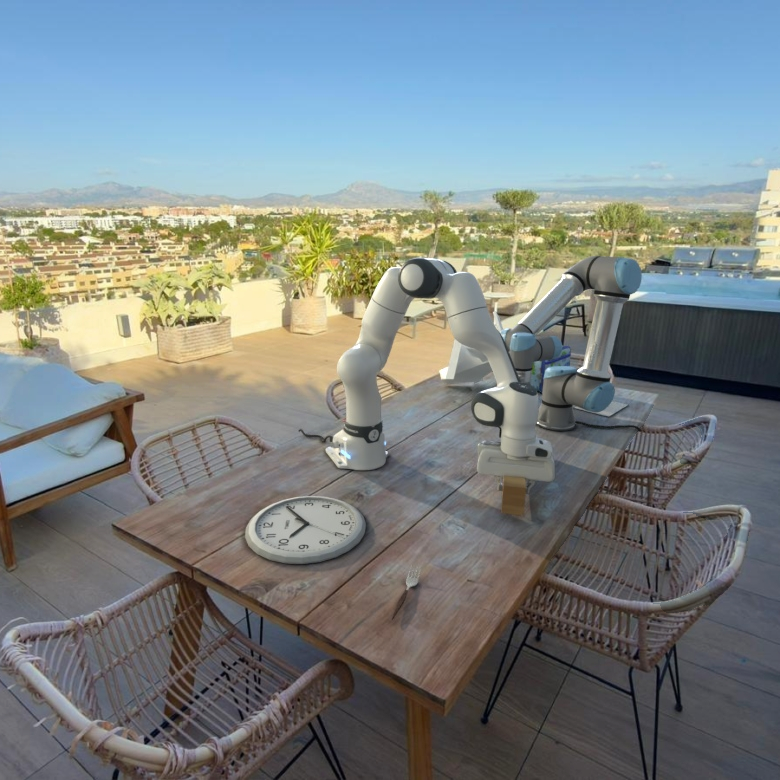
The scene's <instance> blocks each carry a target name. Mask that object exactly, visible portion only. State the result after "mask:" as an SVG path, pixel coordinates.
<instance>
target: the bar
mask: <svg viewBox="0 0 780 780" xmlns="http://www.w3.org/2000/svg"><path fill="white" fill-rule="evenodd" d="M502 483H503V491H501V509H500V511H501V512H500V513H501V514H503V515H513V516H521V517H523V516H524V514H525V504H526V495H527V494H526V485H527V479H526V478H523V477H514V476H504V477H502Z"/></svg>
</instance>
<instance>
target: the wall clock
mask: <svg viewBox="0 0 780 780" xmlns="http://www.w3.org/2000/svg"><path fill="white" fill-rule="evenodd" d="M366 527H367V523H366V520H365V517H364V515H363V514H362V513H361V512H360V511H359V509H357V508H356V507H355V506H353V505H351V504H350V503H348V502H347V501H343V500H341V499H338V498H333V497H328V496H322V495H321V496H320V495H305V496H296V497H291V498H286V499H282V500H280V501H277V502H274V503H271V504H270V505H268V506H266V507H264V508H262V509H261V510H259V511H258V512H257V513H256V514H255V515H254V516H252V518H251V519H250V520H249V521H248V524H247V525H246V527H245V532H244V538H245V542H246V544H247V545H248V547H249V548H250V549H251V550H252V551H253V552H254V553H255V554H256V555H258V556H260V557H262V558H265V559H267V560H269V561H273V562H276V563H277V562H278V563H282V564H293V565H305V564H307V565H308V564H314V563H321V562H325V561H328V560H331V559H332V560H333V559H336V558H338V557H340V556H341V555H344V554H345V553H348V552H350V551H351V550H352V549H353V548H355V547H356V546H357V545H358V544H360V542H361V541H362V539H363V537H364V536H365V535H366V529H367V528H366Z"/></svg>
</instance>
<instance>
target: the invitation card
mask: <svg viewBox="0 0 780 780" xmlns="http://www.w3.org/2000/svg"><path fill="white" fill-rule="evenodd" d="M628 406H629V404H627V403H623V402H618V401H614V400H612V402H611V403H610V405H609V406H608V407H607V408H606V409H604V410H603V411H601V412H592V411H586V410H584V409H582V408H580V407H577V406H574V407H573V409H575V410H581V411H584V412H587V413H593V414H596V415H600V416H604V417H608V418H609V417H611V416H613V415H614V414H616V413H617V412H619V411H621V410H623V409H624V408H626V407H628Z"/></svg>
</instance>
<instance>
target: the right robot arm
mask: <svg viewBox="0 0 780 780" xmlns="http://www.w3.org/2000/svg"><path fill="white" fill-rule="evenodd" d="M642 274H643V273H642V269H641V266H640V264H639V262H638V261H637V260H635V259H633V258H628V257H624V256H603V255H592V256H588V257H586V258H584V259H581V260H579V261H578V262H576V263H575V264H574V265H572V266H570V267H569V268H568V269H567V270H566V271H565V272H564V273H562V275H560V277H559V281H558V283H557V284H555V286H554V287H553V288H552V289H551V290H550V291H548V292H547V294H546V295H545V296H544V297H543V298H542V299H541V300H540V301H539V302H538V303H537V304H536V305H535V306H534V307H532V309H531V310H529V312H528V313H527V314H526V315H524V317H523V318H522V319H521V320H520V321H519V322H518V323H517V324H516V325H515V326H513V328H503V330H502V331H501V333H500V334H501V335H502V337H503V339H504V341H505V343H506V346H507V348H508V351H509V352H510V356H511V359H512V361H513V364H514V366H515V369H516V371H517V374H518V376H519V378H520V380H521V382H524V383H527V384H529V385H531V383H530V382H531V378H532V368H533V362H536V361H543V360H551V359H554V358H557V357H558V356H559V355H560V354H561V352H562V345H563V343H562V341H561V339H560V338H559V337H557V336H555V335H546V336H542V335H539V333H541V331H542V330H544V329H545V327H547V326H548V325H549V323H550V322H552V320H553V319H554V318H556V316H557V315H558V314H560V312H561V311H562V310H563V309H564V308H565V307H566V306H567V305H568V304H569V303H570V302H571V301H572V300H573V299H574V298H575V297H579V296H581V295H582V294H583V293H584V292H585V291H588V290H594V291H593V296H594V297H595V299H596V304H595V308H594V313H593V318H592V320H591V321H592V322H591V326H590V330H589V335H588V340H587V343H586V344H587V345H586V350H585V353H584V358H583V363H582V366H581V367H580V368H578V369H577V367H575V366H571V365H570V366H555V367H549V368H547V369H546V370H545V375H544V378H543V379H544V380H543V391H542V393H541V402H540V404H539V412H538V421H537V423H536V426H537V427H539V428H542V429H544V430H549V431H556V432H567V431H572V430H574V429H575V428H576V424H577V425H581V426H586V427H590V428H597V429H636V430H637V432H642V431H643V430H642V429H641V427H639V426H637V425H633V424H619V425H618V424H617V425H601V424H600V425H599V424H593V423H588V422H587V423H586V422H582V421H579V420H578V421H577V420H576V418H575V417H576V416H575V413H574V407H576V406H577V407H580V408H582V409H584V410H586V411H585V412H588V411H592V412H601V411H603V410H604V409H606V408H607V407H608V406H609V405H610V403H611V402H612V401H614V397H615V394H616V389H615V385H614V384H613V383H612V382H611V379H612V376H611V374H610V373H609V368H610V362H611V358H612V354H613V349H614V345H615V341H616V336H617V333H618V332H617V331H618V328H619V324H620V319H621V315H622V310H623V307H624V306H623V305H624V304H625V303H626V302H628V301H629V300H630V298H631V295H633V294H636V292H637V291H638V289H639V288H640V287H641V284H642V278H643V275H642ZM573 406H574V407H573ZM584 410H583V411H584ZM592 412H591V413H592ZM497 428H498V429H499V432H498V433H499V434H498V437H499V438H500V439H501V432H502V429H501V428H500V427H497Z"/></svg>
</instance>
